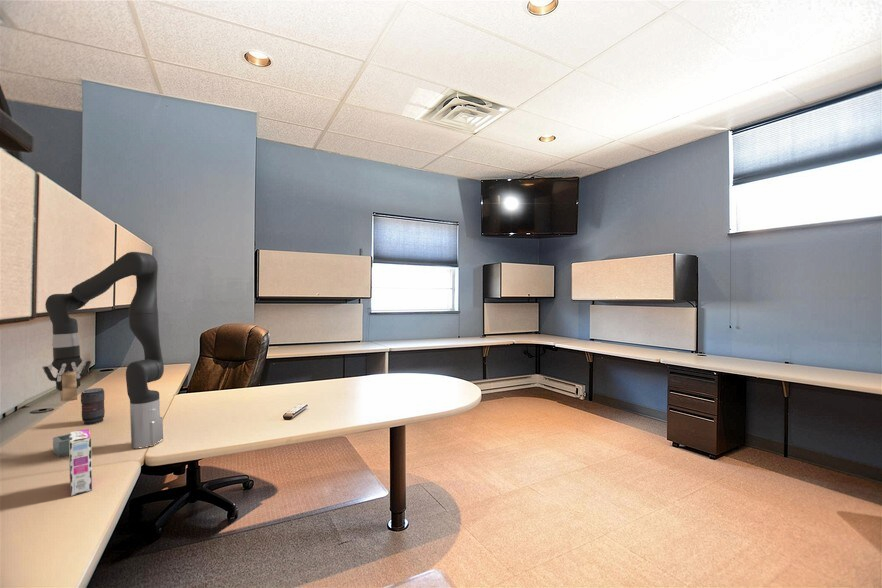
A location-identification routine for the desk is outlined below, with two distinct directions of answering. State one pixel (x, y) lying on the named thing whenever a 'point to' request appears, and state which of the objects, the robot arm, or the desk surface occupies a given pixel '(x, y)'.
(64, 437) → the slate open square box
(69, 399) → the tan wooden block
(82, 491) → the candy bar box
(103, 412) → the camera lens
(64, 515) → the desk surface
